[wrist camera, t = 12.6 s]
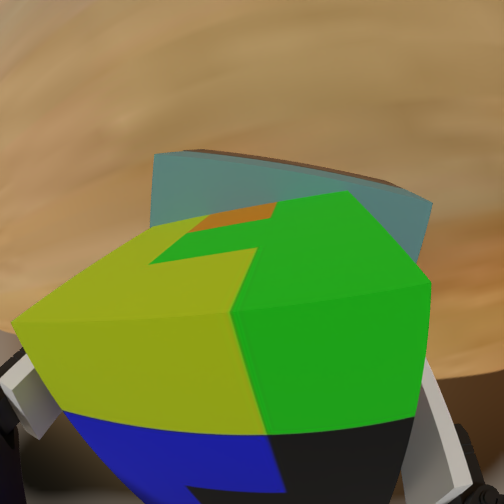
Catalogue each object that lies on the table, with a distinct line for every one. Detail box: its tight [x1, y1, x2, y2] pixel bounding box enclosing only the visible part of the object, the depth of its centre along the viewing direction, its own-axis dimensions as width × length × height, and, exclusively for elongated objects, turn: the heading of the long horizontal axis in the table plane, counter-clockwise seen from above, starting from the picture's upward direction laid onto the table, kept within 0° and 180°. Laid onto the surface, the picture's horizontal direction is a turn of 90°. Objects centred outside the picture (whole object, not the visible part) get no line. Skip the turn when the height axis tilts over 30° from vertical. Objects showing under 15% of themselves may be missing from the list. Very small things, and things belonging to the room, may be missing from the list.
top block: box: [150, 151, 433, 263], centre depth 18 cm, size 14×14×4 cm
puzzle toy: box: [11, 190, 431, 504], centre depth 11 cm, size 10×10×10 cm
